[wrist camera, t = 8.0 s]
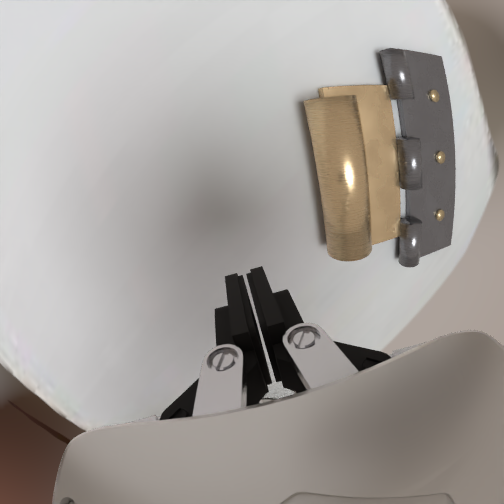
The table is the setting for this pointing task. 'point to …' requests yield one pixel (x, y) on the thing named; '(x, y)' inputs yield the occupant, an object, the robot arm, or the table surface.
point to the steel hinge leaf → (423, 151)
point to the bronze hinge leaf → (356, 167)
